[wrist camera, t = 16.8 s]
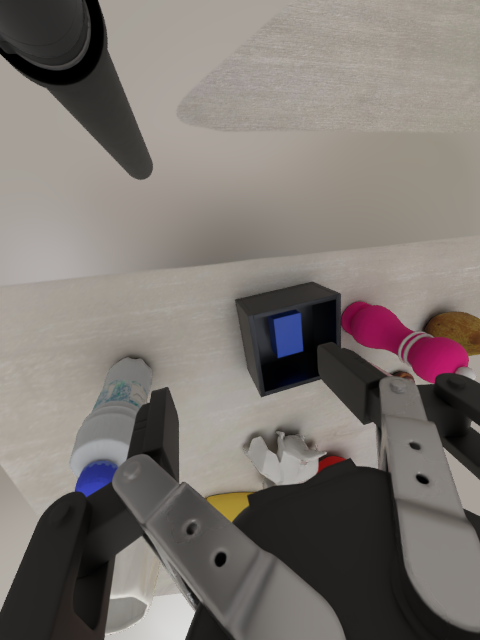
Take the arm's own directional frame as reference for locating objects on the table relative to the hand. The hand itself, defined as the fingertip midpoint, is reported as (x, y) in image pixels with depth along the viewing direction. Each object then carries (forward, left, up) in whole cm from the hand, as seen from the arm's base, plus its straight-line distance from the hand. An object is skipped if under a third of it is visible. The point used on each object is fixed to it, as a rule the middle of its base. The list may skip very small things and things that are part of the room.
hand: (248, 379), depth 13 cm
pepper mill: (+26, -13, -26) cm, 39 cm away
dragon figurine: (+8, -39, -26) cm, 48 cm away
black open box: (+11, -11, -26) cm, 30 cm away
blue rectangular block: (+11, -11, -25) cm, 30 cm away
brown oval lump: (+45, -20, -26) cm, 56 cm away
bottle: (-14, -12, -26) cm, 32 cm away
